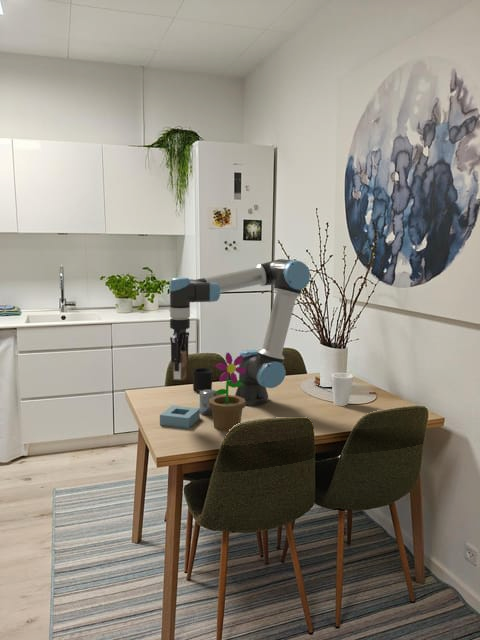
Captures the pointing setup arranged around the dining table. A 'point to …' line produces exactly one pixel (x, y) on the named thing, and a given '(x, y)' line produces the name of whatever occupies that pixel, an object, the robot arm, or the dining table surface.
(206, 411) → the round peg
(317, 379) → the toy sandwich meal
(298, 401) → the dining table surface
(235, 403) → the flowerpot
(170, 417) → the bore block
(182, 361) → the square peg
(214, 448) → the dining table surface
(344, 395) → the foam cup
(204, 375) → the pen holder
